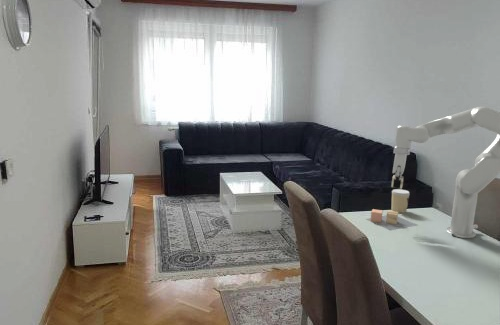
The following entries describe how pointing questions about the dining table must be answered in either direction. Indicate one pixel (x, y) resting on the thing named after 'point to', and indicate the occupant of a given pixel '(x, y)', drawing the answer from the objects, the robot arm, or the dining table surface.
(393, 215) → the oak base brick
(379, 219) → the terracotta block
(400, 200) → the coffee cup
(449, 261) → the dining table surface
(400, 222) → the baseplate
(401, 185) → the birch block
